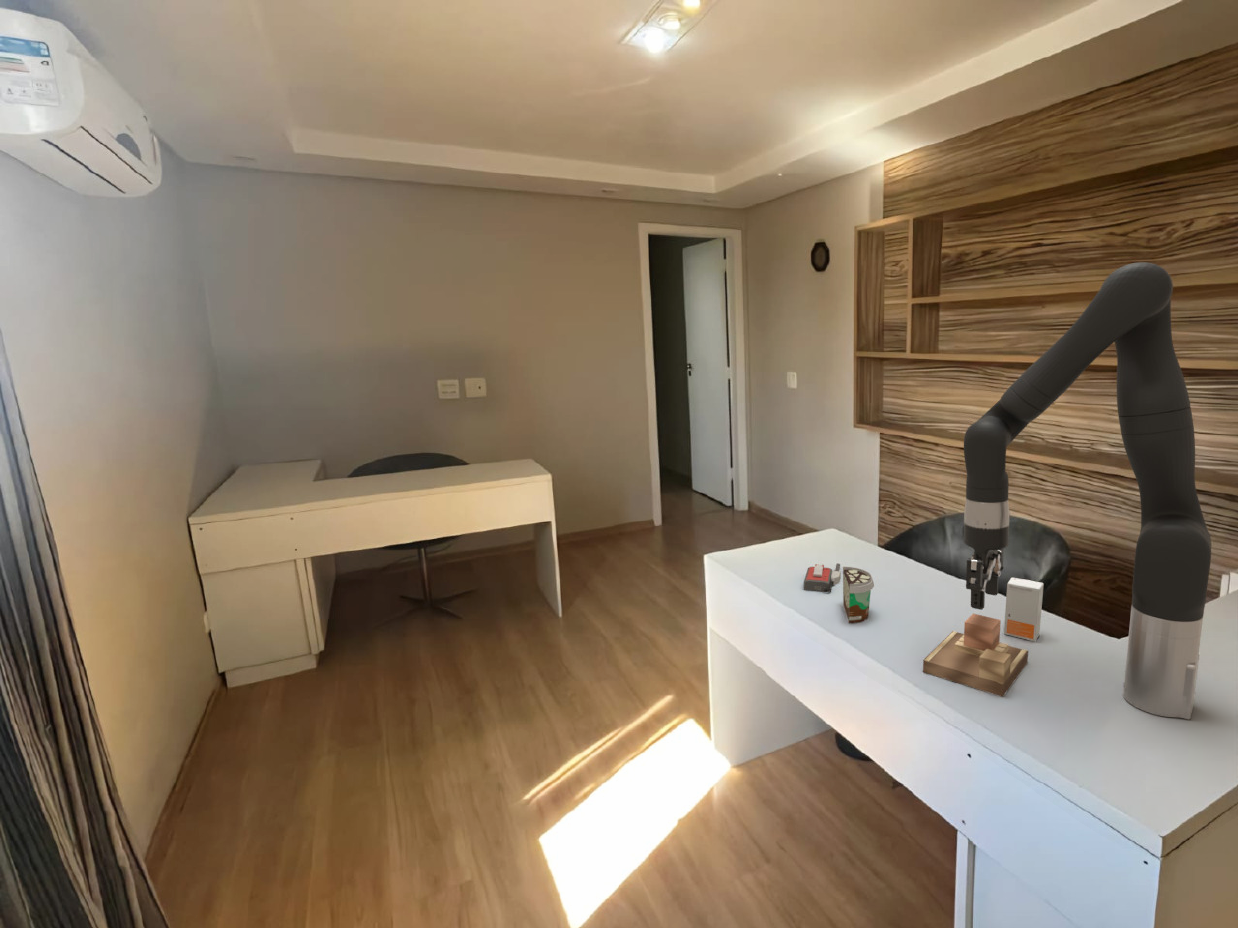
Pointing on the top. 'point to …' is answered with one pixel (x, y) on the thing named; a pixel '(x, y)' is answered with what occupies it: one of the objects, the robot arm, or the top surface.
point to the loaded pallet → (981, 636)
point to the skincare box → (1023, 609)
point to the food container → (856, 593)
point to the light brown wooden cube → (994, 665)
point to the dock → (970, 666)
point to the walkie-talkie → (821, 578)
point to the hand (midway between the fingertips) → (984, 601)
